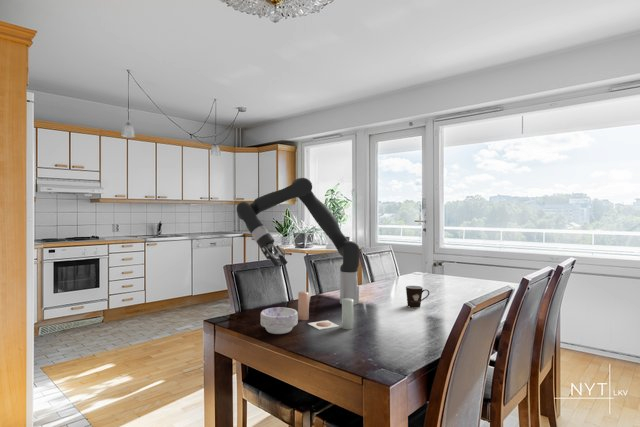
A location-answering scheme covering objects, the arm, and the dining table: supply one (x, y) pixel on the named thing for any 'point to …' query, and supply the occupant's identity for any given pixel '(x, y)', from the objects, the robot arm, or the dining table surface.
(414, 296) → the coffee mug
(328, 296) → the dining table surface
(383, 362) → the dining table surface
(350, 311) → the grey-green tube
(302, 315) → the terracotta tube
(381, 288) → the dining table surface
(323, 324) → the card
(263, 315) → the paper bowls
